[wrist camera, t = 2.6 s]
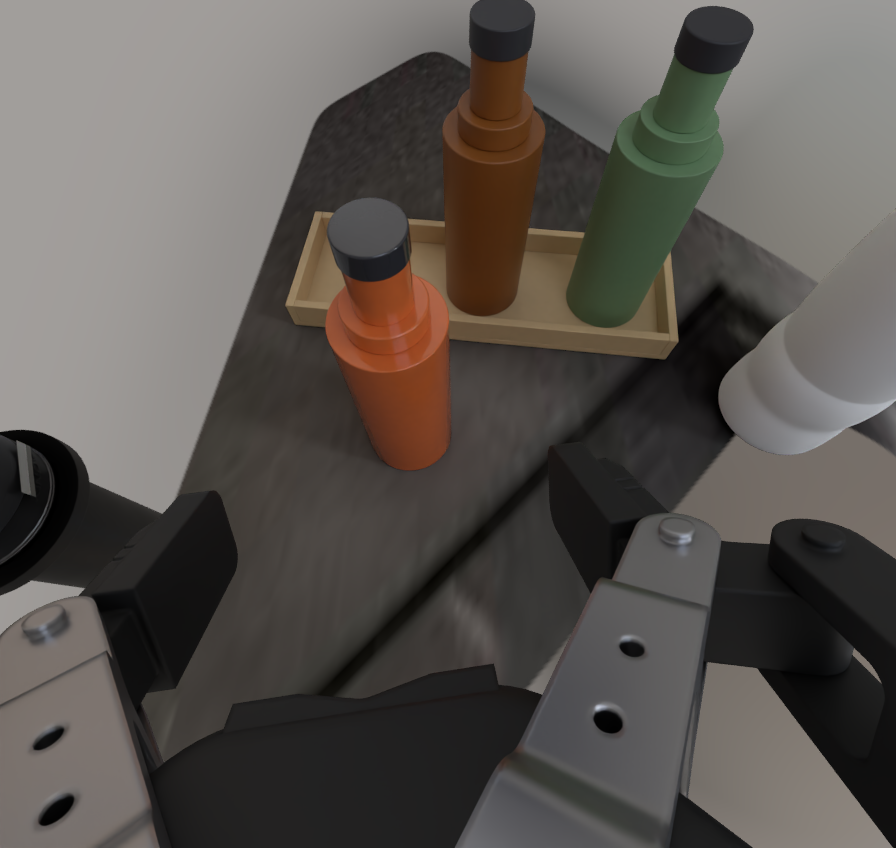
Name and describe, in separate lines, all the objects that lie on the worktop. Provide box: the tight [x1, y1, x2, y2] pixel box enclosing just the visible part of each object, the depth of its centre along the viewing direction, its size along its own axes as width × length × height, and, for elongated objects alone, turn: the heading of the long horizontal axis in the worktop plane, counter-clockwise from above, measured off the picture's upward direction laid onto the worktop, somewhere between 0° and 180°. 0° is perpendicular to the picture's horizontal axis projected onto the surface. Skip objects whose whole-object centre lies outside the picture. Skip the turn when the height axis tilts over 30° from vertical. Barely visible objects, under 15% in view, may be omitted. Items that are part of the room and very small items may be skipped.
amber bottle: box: [442, 0, 545, 316], centre depth 29 cm, size 5×5×18 cm
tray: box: [286, 211, 678, 359], centre depth 36 cm, size 27×9×2 cm, turn 83°
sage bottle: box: [566, 6, 754, 328], centre depth 28 cm, size 5×5×18 cm
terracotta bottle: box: [325, 198, 451, 471], centre depth 24 cm, size 5×5×18 cm
